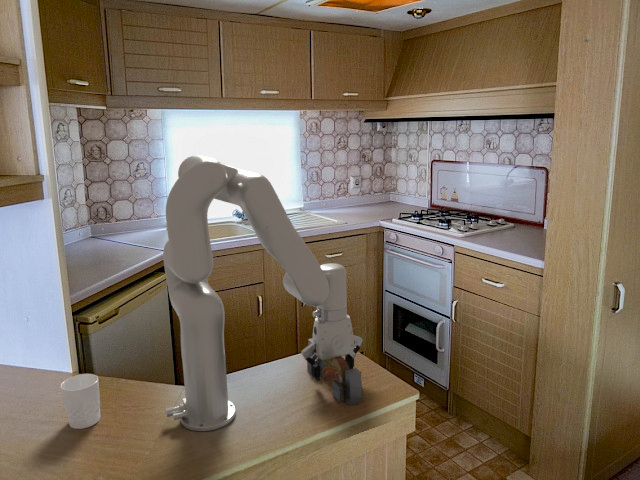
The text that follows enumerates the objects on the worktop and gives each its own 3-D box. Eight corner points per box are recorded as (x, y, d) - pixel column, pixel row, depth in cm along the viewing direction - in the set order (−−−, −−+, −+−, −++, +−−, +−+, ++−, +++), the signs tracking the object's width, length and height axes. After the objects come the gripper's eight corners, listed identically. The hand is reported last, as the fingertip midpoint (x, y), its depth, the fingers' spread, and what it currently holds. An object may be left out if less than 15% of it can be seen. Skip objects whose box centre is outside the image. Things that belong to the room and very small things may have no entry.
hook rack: (344, 407, 123) (344, 376, 121) (303, 367, 143) (302, 340, 142) (366, 400, 126) (366, 370, 124) (323, 362, 146) (323, 335, 144)
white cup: (103, 408, 125) (98, 371, 122) (102, 426, 117) (97, 386, 115) (67, 416, 122) (62, 377, 120) (64, 434, 115) (58, 393, 112)
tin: (316, 372, 141) (315, 343, 139) (326, 369, 142) (325, 341, 140) (341, 397, 127) (340, 366, 125) (352, 394, 128) (352, 363, 127)
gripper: (307, 324, 123) (309, 389, 127) (369, 311, 130) (369, 372, 134) (294, 314, 130) (297, 376, 133) (354, 302, 137) (354, 361, 141)
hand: (333, 374), depth 134 cm, fingers open, 9 cm apart
